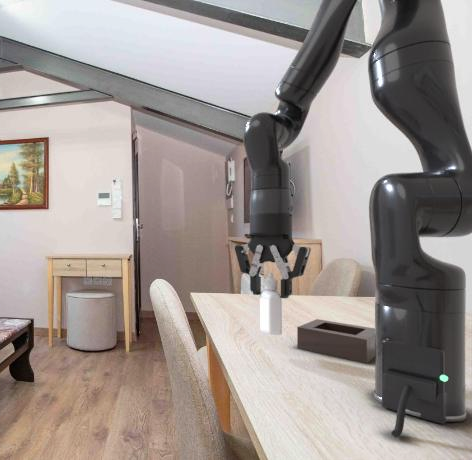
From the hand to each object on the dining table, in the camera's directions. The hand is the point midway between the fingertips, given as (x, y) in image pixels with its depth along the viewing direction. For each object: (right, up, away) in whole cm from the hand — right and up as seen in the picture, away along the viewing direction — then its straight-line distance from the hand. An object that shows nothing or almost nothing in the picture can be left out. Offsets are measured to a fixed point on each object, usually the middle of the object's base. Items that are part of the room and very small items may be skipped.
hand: (270, 295), depth 77 cm
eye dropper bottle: (0, -8, 0) cm, 8 cm away
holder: (+16, -12, +2) cm, 19 cm away
